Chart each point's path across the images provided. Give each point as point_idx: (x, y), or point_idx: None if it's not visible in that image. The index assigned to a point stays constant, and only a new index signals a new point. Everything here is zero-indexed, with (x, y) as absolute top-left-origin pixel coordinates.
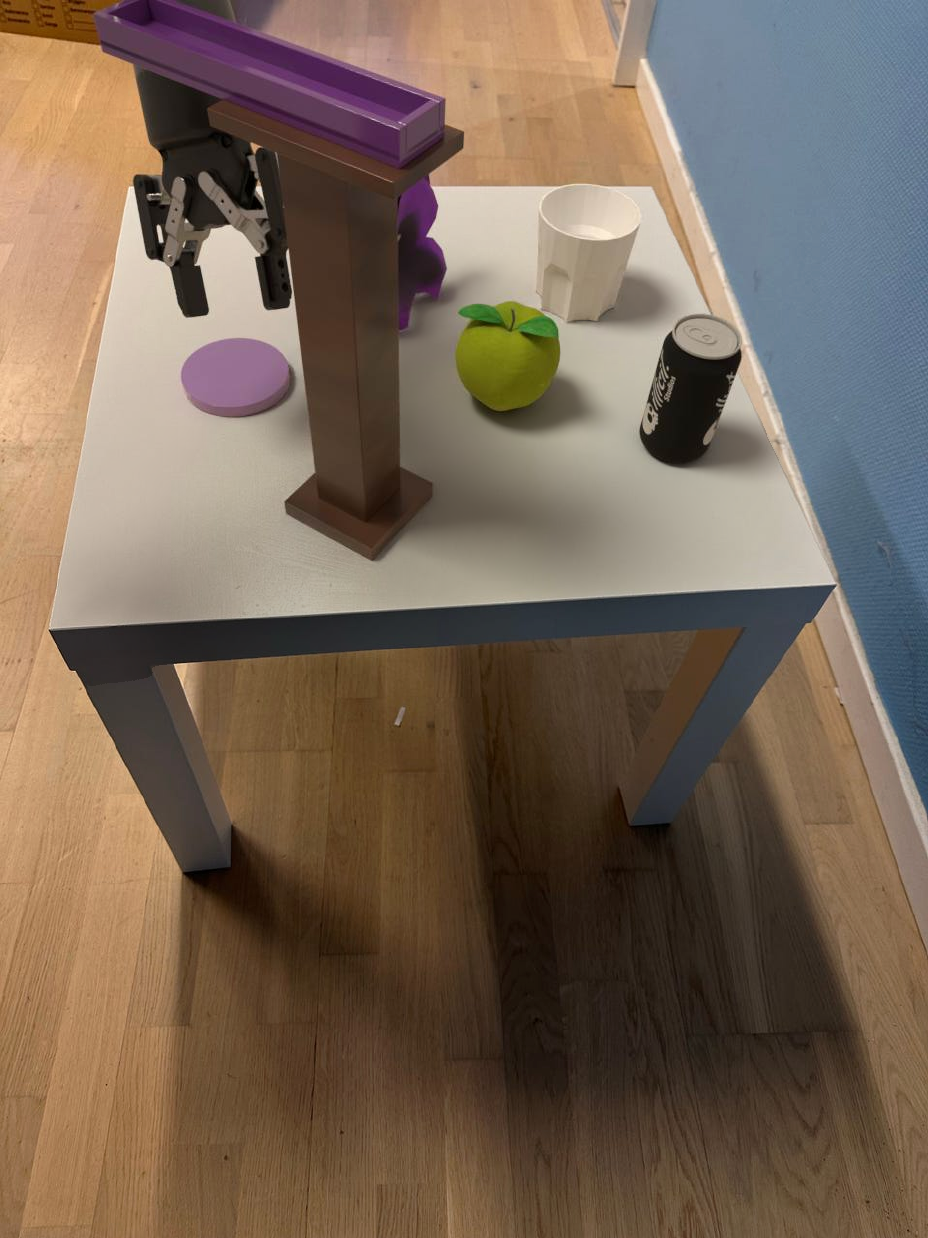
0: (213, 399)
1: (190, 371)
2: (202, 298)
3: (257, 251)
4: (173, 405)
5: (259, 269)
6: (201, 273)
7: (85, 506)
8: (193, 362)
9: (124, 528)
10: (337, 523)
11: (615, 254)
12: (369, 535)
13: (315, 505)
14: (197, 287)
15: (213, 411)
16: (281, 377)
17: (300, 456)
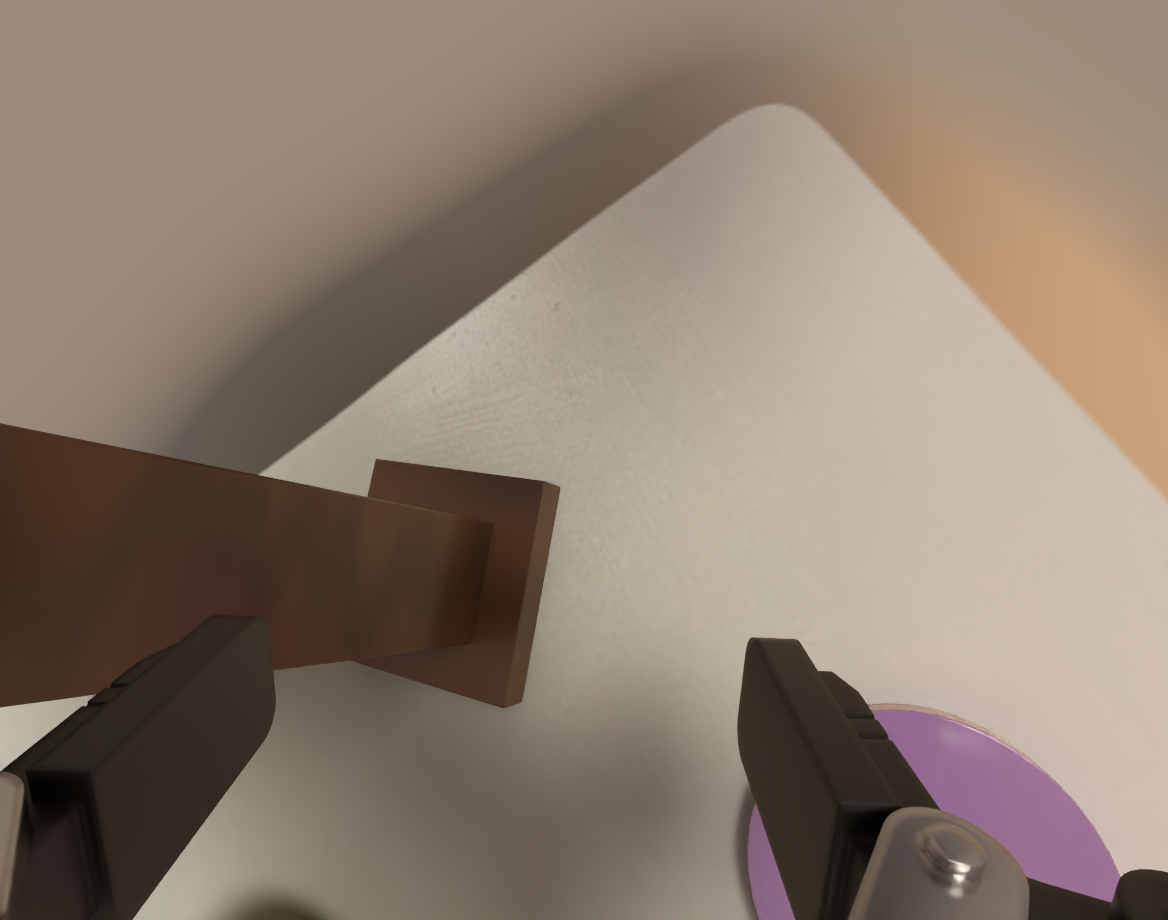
0: (895, 733)
1: (1063, 840)
2: (757, 772)
3: (22, 787)
4: (1026, 697)
5: (128, 718)
6: (795, 912)
7: (960, 288)
8: (1090, 894)
9: (828, 291)
10: (440, 481)
11: None
12: (386, 483)
13: (489, 501)
14: (778, 802)
15: (882, 705)
16: (768, 902)
17: (608, 648)
